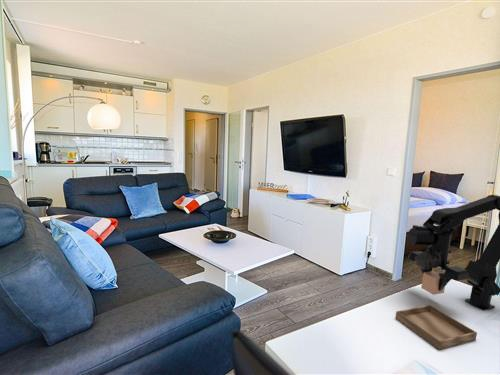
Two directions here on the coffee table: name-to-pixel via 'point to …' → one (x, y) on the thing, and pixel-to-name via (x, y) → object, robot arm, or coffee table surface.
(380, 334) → the coffee table surface
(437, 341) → the walnut tray
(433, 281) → the terracotta block
